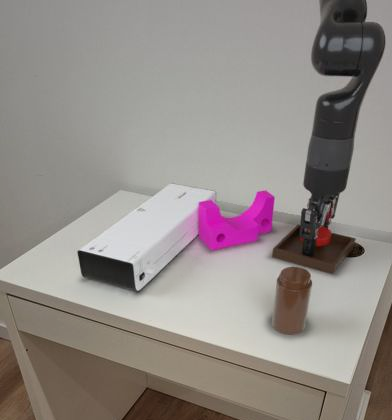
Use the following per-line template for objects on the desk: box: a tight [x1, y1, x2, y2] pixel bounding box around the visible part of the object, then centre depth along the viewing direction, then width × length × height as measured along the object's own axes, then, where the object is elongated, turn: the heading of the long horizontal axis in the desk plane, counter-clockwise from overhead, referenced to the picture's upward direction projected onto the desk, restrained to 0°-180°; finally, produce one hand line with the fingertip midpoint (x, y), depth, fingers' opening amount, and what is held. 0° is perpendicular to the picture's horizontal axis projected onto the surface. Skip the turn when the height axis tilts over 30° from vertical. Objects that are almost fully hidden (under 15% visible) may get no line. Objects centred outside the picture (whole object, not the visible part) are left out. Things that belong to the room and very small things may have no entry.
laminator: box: [76, 182, 217, 293], centre depth 94 cm, size 34×12×6 cm, turn 154°
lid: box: [300, 227, 333, 246], centre depth 92 cm, size 6×6×2 cm
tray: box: [271, 223, 357, 275], centre depth 93 cm, size 12×12×2 cm
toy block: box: [198, 189, 276, 251], centre depth 97 cm, size 15×6×8 cm, turn 113°
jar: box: [271, 266, 313, 335], centre depth 73 cm, size 5×5×9 cm
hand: (313, 248), depth 94 cm, fingers closed on lid, 5 cm apart
